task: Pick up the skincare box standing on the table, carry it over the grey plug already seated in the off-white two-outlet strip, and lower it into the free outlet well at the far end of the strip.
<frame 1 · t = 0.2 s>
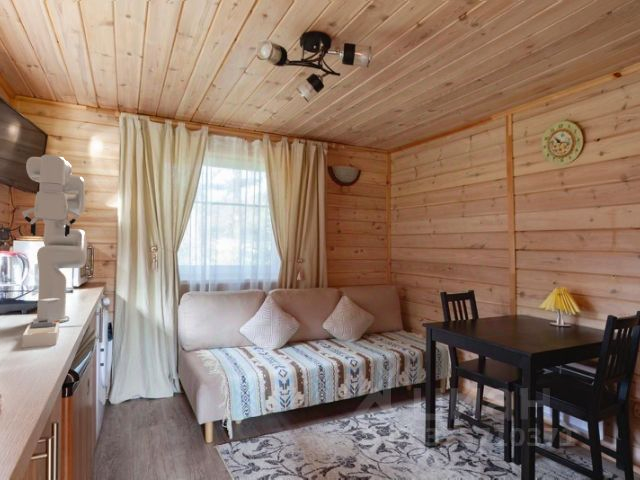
hand: (50, 236, 144), 36 cm above the counter, tool pointing down, fingers open, 9 cm apart
skincare box: (48, 331, 147), on the counter
pdu strip: (41, 339, 135), on the counter
seated twin plug: (42, 337, 138), resting on pdu strip
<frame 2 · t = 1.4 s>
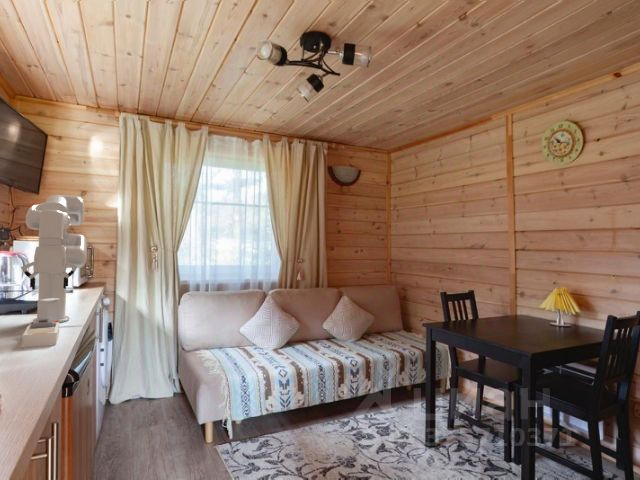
hand: (49, 288, 147), 16 cm above the counter, tool pointing down, fingers open, 9 cm apart
nothing on the counter moved.
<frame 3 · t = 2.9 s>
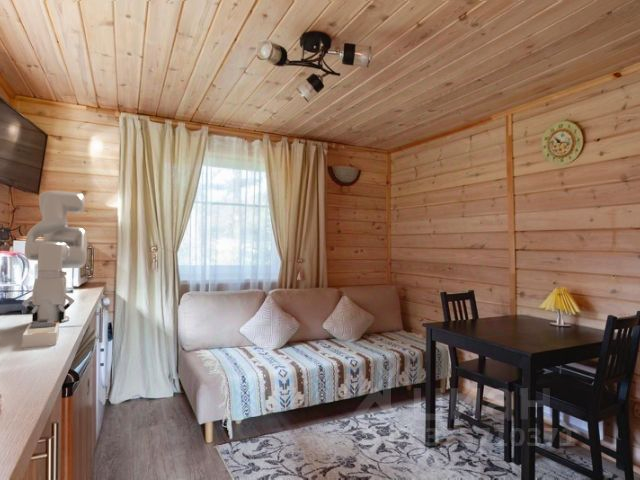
hand: (48, 322, 147), 3 cm above the counter, tool pointing down, fingers closed on skincare box, 7 cm apart
skincare box: (48, 331, 147), on the counter, touching gripper
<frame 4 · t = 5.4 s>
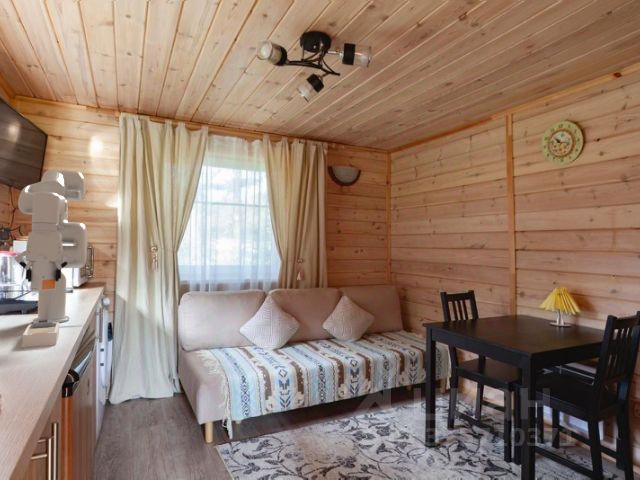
hand: (43, 280, 133), 20 cm above the counter, tool pointing down, fingers closed on skincare box, 7 cm apart
skincare box: (43, 291, 133), point 17 cm above the counter, touching gripper
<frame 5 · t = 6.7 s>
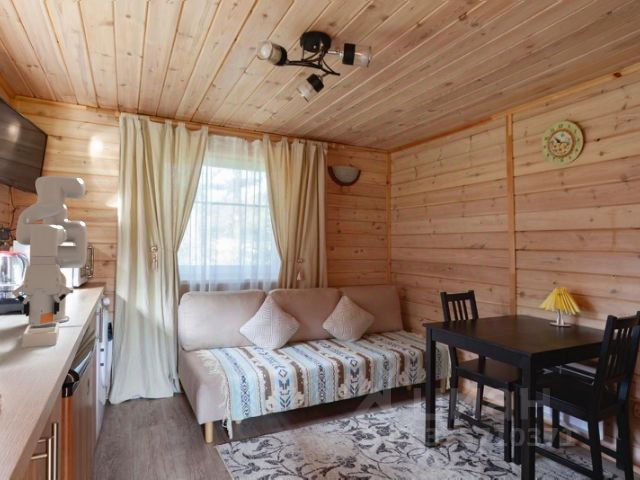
hand: (41, 314, 131), 9 cm above the counter, tool pointing down, fingers closed on skincare box, 7 cm apart
skincare box: (41, 324, 131), point 6 cm above the counter, touching gripper
when the fingers open (6 cm above the counter, at t = 7.9 s): skincare box drops 2 cm, resting on pdu strip.
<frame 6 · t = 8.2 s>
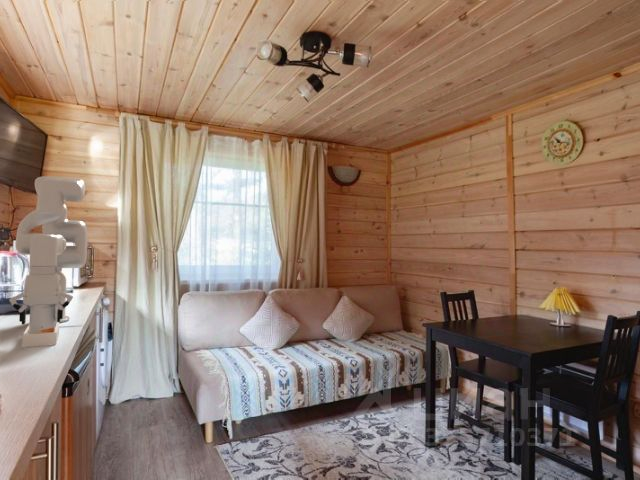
hand: (41, 322, 131), 7 cm above the counter, tool pointing down, fingers open, 9 cm apart
skincare box: (41, 340, 131), point 1 cm above the counter, touching pdu strip
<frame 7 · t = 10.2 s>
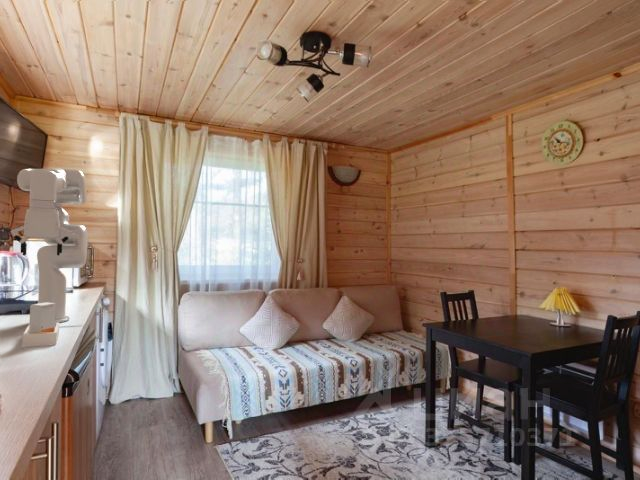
hand: (41, 255, 137), 29 cm above the counter, tool pointing down, fingers open, 9 cm apart
nothing on the counter moved.
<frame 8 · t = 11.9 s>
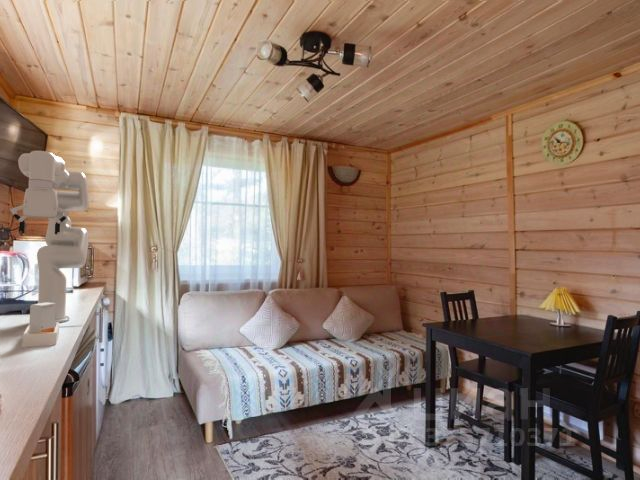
hand: (40, 233, 141), 36 cm above the counter, tool pointing down, fingers open, 9 cm apart
nothing on the counter moved.
at the end: skincare box 0.4 cm from the target spot on the pdu strip, point 0.8 cm above the pdu strip's base; skincare box tilted 0°; the gripper is holding nothing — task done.
